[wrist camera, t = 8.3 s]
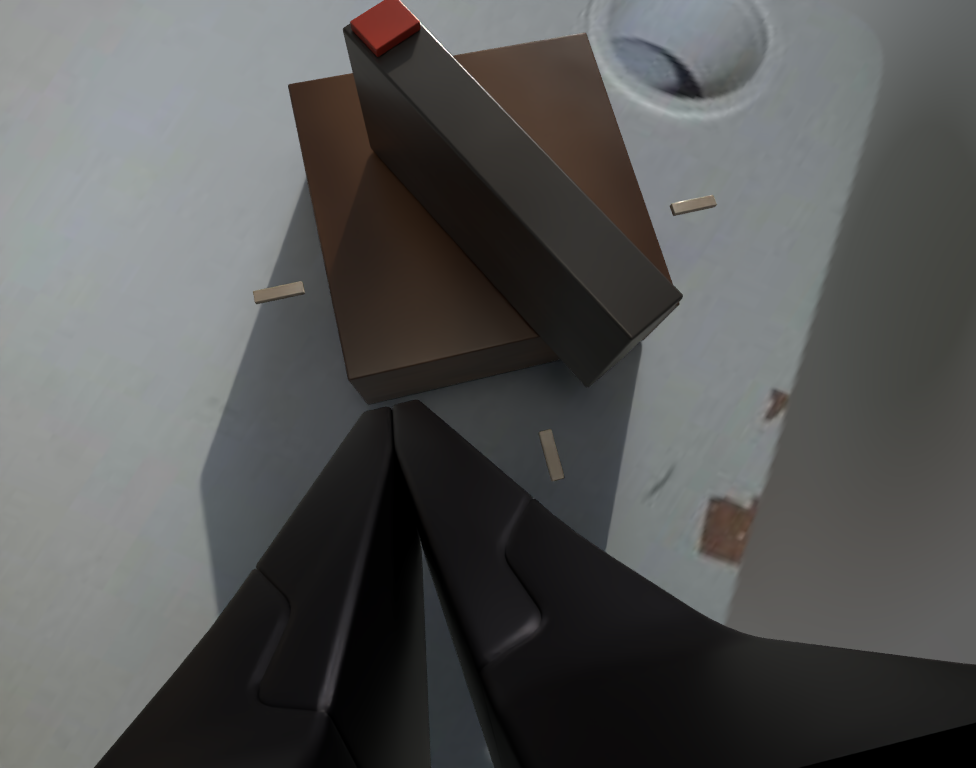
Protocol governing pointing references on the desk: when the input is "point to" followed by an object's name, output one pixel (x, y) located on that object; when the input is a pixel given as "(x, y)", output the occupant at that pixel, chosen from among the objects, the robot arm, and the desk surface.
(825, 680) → the robot arm
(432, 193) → the red-tipped grey slab
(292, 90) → the panel
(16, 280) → the desk surface
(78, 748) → the desk surface
